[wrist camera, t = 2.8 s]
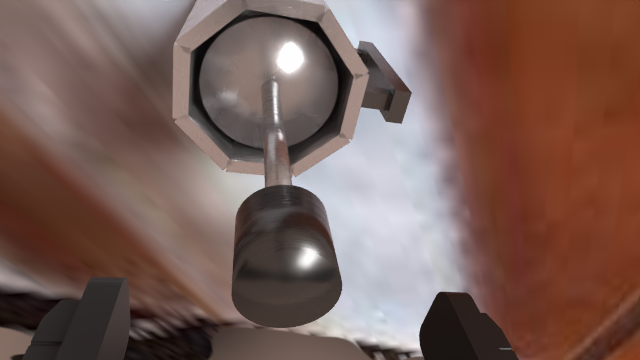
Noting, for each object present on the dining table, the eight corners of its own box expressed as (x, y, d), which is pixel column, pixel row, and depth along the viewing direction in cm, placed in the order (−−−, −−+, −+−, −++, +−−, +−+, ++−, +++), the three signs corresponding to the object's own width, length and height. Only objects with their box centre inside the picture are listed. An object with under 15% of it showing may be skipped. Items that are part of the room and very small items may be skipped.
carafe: (204, -55, 30) (174, -23, 19) (376, -20, 33) (441, 27, 22) (198, 78, 36) (171, 166, 24) (347, 99, 39) (387, 186, 27)
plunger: (204, 1, 21) (133, 159, 9) (349, 27, 23) (465, 191, 10) (197, 134, 25) (143, 374, 13) (321, 148, 27) (381, 373, 14)
